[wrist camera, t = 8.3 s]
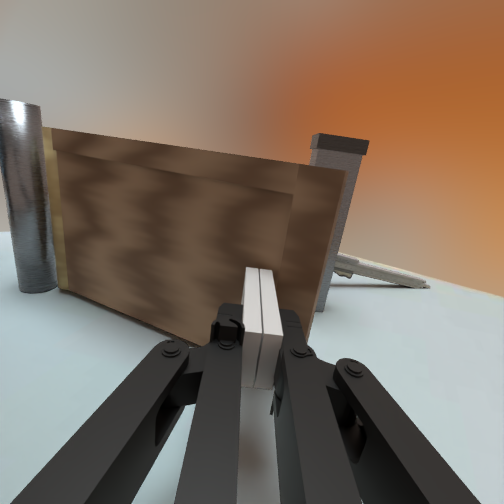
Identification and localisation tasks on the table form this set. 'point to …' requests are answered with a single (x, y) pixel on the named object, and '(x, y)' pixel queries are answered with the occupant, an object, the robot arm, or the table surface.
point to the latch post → (349, 159)
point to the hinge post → (27, 195)
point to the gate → (185, 227)
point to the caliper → (374, 272)
